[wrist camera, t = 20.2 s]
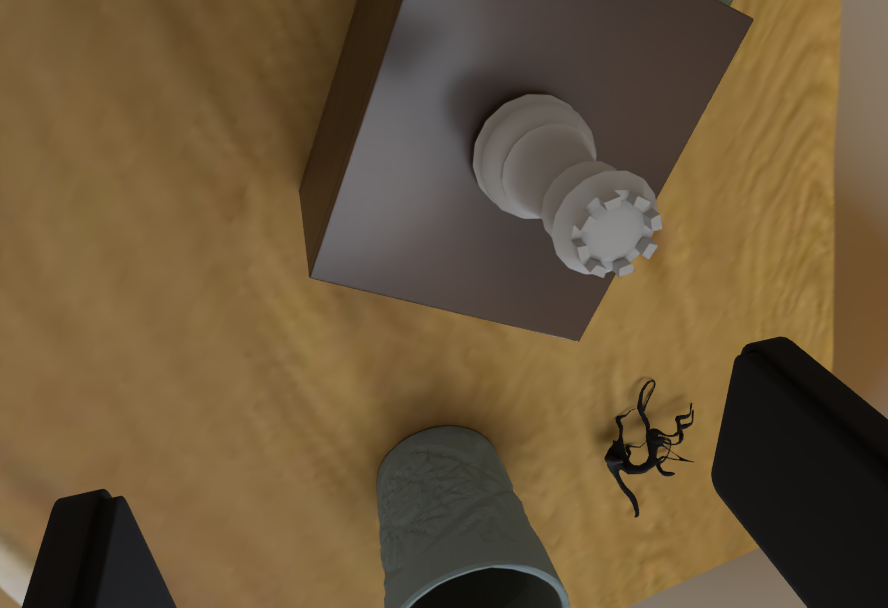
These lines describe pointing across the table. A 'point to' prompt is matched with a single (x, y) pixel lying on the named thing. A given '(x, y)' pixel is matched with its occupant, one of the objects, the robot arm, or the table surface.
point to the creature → (619, 455)
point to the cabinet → (459, 124)
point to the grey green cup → (458, 528)
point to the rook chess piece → (565, 185)
